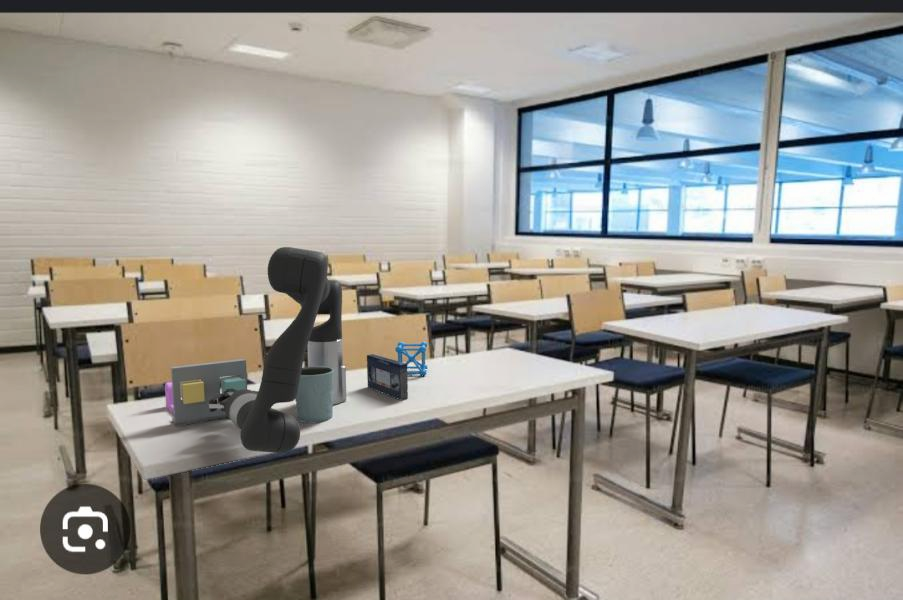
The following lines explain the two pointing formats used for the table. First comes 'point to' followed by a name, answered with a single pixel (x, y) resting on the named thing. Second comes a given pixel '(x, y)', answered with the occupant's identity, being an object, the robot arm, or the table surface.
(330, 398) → the teal cup
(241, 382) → the teal button
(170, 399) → the bracket
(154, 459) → the table surface
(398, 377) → the vhs cassette tape
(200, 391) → the mustard button
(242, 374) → the panel
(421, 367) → the molecular structure
